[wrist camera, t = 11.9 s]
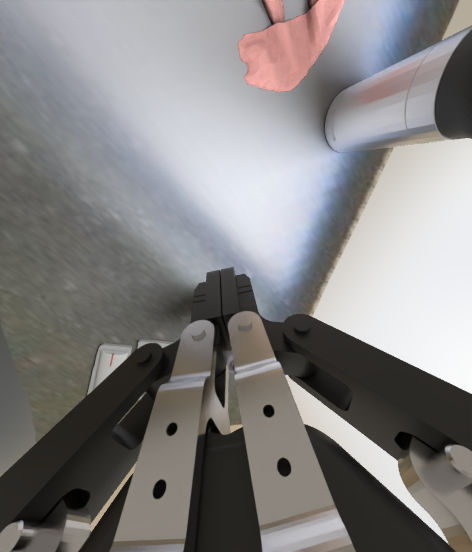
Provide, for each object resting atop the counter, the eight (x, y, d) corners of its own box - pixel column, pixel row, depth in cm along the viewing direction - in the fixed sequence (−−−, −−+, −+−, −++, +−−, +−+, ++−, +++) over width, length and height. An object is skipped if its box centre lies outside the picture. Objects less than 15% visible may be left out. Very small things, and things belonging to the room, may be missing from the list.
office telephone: (83, 405, 46) (94, 340, 39) (88, 395, 48) (99, 331, 42) (183, 405, 55) (207, 352, 48) (183, 396, 57) (205, 344, 50)
